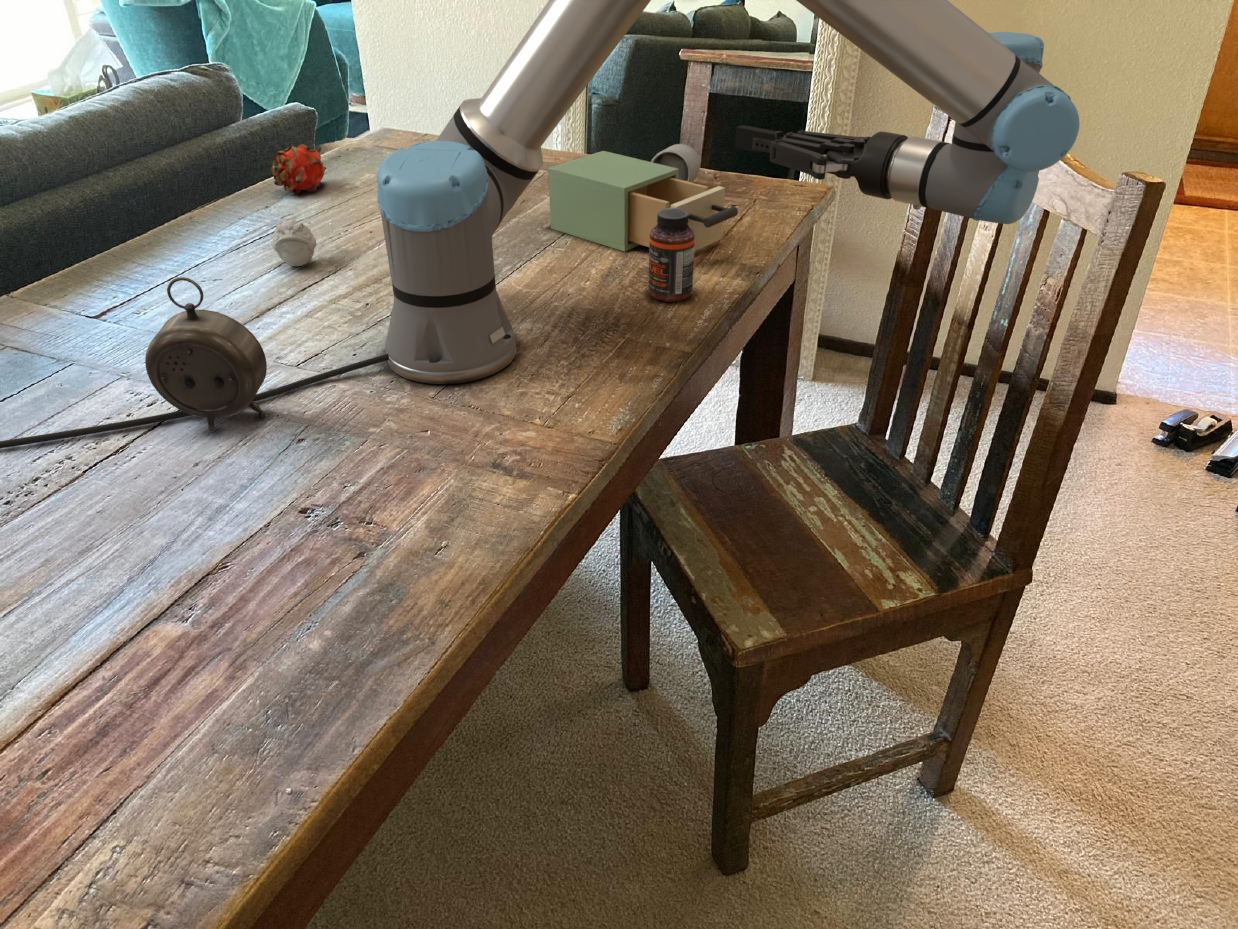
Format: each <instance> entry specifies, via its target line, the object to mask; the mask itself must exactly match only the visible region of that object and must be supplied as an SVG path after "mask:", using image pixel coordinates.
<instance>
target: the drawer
mask: <svg viewBox="0 0 1238 929" xmlns="http://www.w3.org/2000/svg"><path fill="white" fill-rule="evenodd" d="M725 194H726V187H725V186H724V187H723V186H720V185H717V186H715V187H713V188H709V186H708V185H704V184H699V183H695V182H688V181H684V180H679V179H675V178H671V177H668V178H666V179H663V180H660V181H657V182H655V183H652V184H649V185H646V186H644V187H641V188H638V189H635V190H633V191H630V192H628V241H630V242H633V243H637V244H640V245H639V246H644V247H647V248H649V241H650V232H651V230H652V229H653V228H654V227H655V226H656V225H657V224H658V223H657V215H658V212H659V211H660V210H663V209H667V208H677V209H682V210H685V211H687V212H688V226H689V227H690V228H692V230H693V231H694V234H695V242H694V244H695V245H694V252H696V251H697V250H700V249H703V248H705V247H707V246H709V245H711V244H713V243H716V242H718V241H720V240H723V233H724V232H723V228H724V222H725V221H727V220H730V219H732V218H734V217H736V216H738V214H739V209H738V208H737V207H736V206H731V207H726V206H725V198H726V196H725Z"/></svg>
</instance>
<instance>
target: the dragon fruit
mask: <svg viewBox="0 0 1238 929" xmlns="http://www.w3.org/2000/svg"><path fill="white" fill-rule="evenodd" d="M271 163H272V164H271V165H270V167H269V168H270V173H271V174H272V177H273V180H274V181H273V184H274V185H275V186H278V187H283V189H284V191H288V192H291V193H292V194H294V195H299V193H301V190H305V191H306V192H310V191H313V192H315V191H316V190H317V188H320V187H321V184H322V183H321V181H322V180H323V178H324V176H325V171H326V170H327V167H326V166H324V163H323V162H322V156H321V154H320V152H319V151H318V150H316V149H315V148H314V149H310V148H309V146H308V145H306V144H303V143H302V144H299V145H298V146H294V145H290V146H288V147H287V148H284V149H283V150H279V151H277V152H276V153H274V154H272V159H271Z"/></svg>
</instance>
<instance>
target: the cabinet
mask: <svg viewBox="0 0 1238 929" xmlns="http://www.w3.org/2000/svg"><path fill="white" fill-rule="evenodd" d="M547 170H548V172H547V173H548V190H549V191H548V193H549V210H550V211H549V212H550V229H551V230H554V231H556V232H557V231H558V232H561V233H564V234H567V235H571V236H573V237H576V238H580V239H583V240H587V241H589V242H593V243H596V244H599V245H602V246H605V247H609V248H611V249H615V250H618V251H620V252H628V251H630V250H632V249H634V248H637V247H639V246H641V245H640V244H637V243H633V242H630V241H628V192H630V191H633V190H635V189H638V188H641V187H644V186H646V185H649V184H652V183H655V182H657V181H660V180H663V179H666V178H668V177H671V178H675V179H678V174H679V169H677V168H673V167H669V166H665V165H661V164H657V163H652V162H651V161H648V160H644V159H639V158H636V157H631V156H627V155H623V154H619V153H614V152H611V151H606V150H601V151H598V152H595V153H591V154H588V155H585V156H581V157H578V158H576V159H573V160H568V161H566V162H563V163H559V164H556V165H553V166H550V167H548V168H547Z"/></svg>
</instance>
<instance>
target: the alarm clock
mask: <svg viewBox="0 0 1238 929" xmlns="http://www.w3.org/2000/svg"><path fill="white" fill-rule="evenodd" d="M183 281H185V282H188V283H190V284H192V285H193V286H194V287H195V288H196V289H197V290H198V292H199V295H200V296H199V301H198V302H197V303H196V304H194V303H192V302H188V303H186V304H184V305H182V304H180V303H178V301H176V300H175V299H174V297H173V296H172V293H171V291H172V290H171V289H172V286H173V285H174V284H175V283H177V282H183ZM166 292H167V297H168V299H170V301H171V303H172V304H174V306H176V307H178V308H180V309H184V311H181V312H178V313H176V314H174V315H172V316H171V317H170V318H169V319H167V320H166V322H164V324H163V325H162V326H161V328H160V330H159V331H158V332H157V333H156V334H155V336H154V337H153V338H152V340H151V341H150V343H149V344H148V346H147V349H146V352H145V359H144V361H145V362H144V363H145V365H144V366H145V369H146V374H147V376H148V379H149V381H150V383H151V385H152V386H153V388H154V390H156V392H157V393H158V394H159V395H160V397H162V398H163V399H164V400H165V401H166V403H169V404H170V405H171V406H173V407H174V408H176V409H178V411H183V412H185V413H188V414H191V415H193V416H194V417H198V418H201V419H206V422H207V429H208V431H209V432H210V433H213V432H215V430H216V422H215V420H217V419H224V418H229V417H233V416H236V415H238V414H239V413H241V412H243V411H244V410H245V409H247V408H248V407H249V408H250V409H251V410H252V411H254V412H255V413H258V416H259V417H260V418H264V417H265V416H266V411H264V410H263V409H262V408H261V407H260V405H259V404H257V403H256V402H253V399H254V397H255V395H256V394H258V392H259V390H260V388H261V387H262V385H263V383H264V381H265V379H266V376H267V371H268V370H267V369H268V364H267V358H266V354H265V351H264V348H263V347H262V345H261V343H260V341H259V340H258V339H257V337H256V336H255V335H254V334H253V333H252V331H250V330H249V329H248V328H247V327H246V326H245V325H244V324H242V323H241V322H239V321H238V320H236V319H234V317H233V318H232V317H231V316H229V315H227V314H224V313H221V312H218V311H213V310H208V309H197V308H199V307H200V306H201V304H202V303H203V301H204V291H203V289H202V287H201V286H200V284H199V283H197V282H196V281H195V280H193V279H191V278H189V277H184V276H179V277H175V278H173V279H171V280H170V282H169V283H168V284H167V288H166Z"/></svg>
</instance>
